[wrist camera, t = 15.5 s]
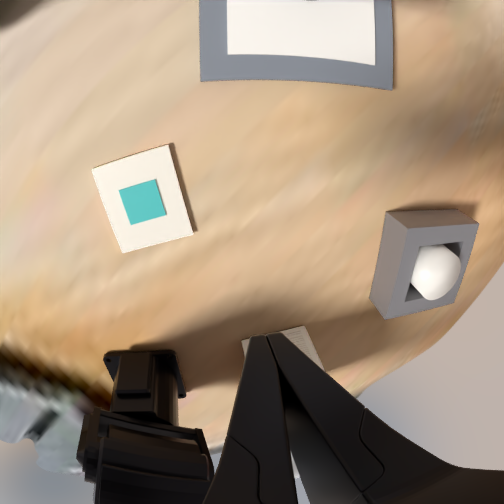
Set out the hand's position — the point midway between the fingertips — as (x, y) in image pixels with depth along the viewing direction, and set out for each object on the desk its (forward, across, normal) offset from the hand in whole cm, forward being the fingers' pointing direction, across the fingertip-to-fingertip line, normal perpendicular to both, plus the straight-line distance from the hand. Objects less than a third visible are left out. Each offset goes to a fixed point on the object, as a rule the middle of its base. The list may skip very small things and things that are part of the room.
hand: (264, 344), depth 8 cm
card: (+13, +5, 0) cm, 14 cm away
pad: (+13, -5, -14) cm, 20 cm away
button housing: (+13, -16, +6) cm, 21 cm away
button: (+13, -16, +6) cm, 21 cm away
